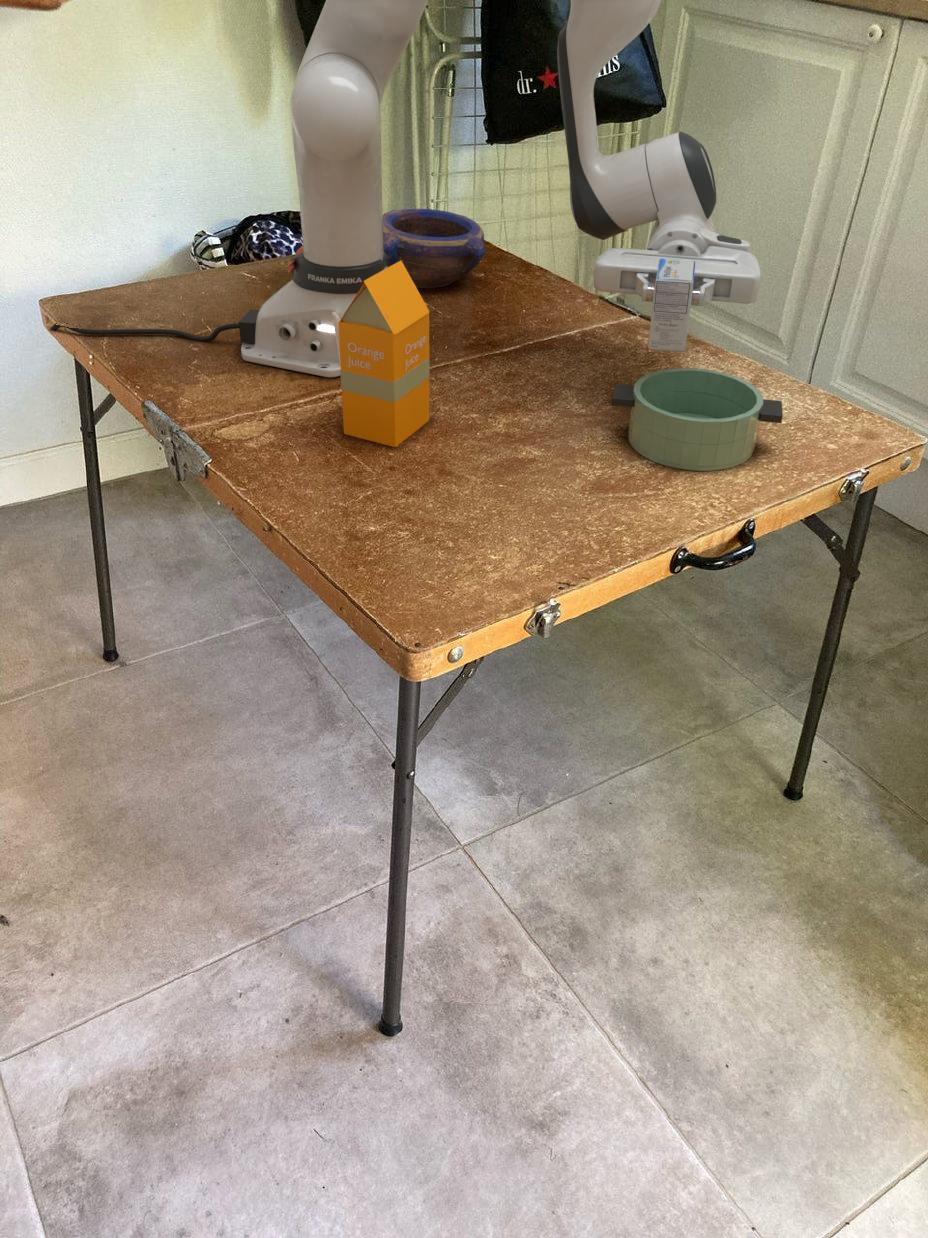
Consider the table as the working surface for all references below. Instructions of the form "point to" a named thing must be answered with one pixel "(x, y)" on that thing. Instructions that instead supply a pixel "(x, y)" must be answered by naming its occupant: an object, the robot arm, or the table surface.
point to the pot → (694, 419)
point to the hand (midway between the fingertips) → (673, 297)
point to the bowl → (432, 244)
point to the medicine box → (671, 304)
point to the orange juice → (385, 359)
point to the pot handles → (768, 414)
